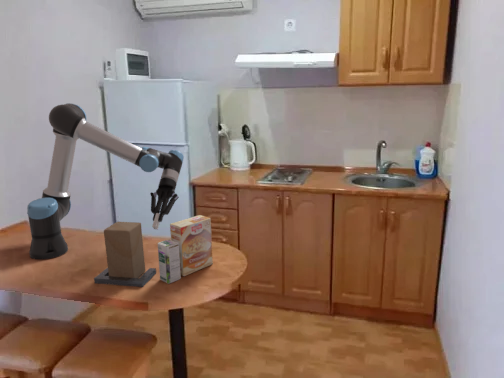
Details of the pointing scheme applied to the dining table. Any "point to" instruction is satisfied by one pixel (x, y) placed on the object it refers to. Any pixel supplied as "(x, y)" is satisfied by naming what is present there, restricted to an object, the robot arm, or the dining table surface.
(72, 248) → the dining table surface
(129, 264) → the wooden block
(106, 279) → the dock
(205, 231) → the coffeecake box
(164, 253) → the syrup box
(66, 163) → the robot arm
